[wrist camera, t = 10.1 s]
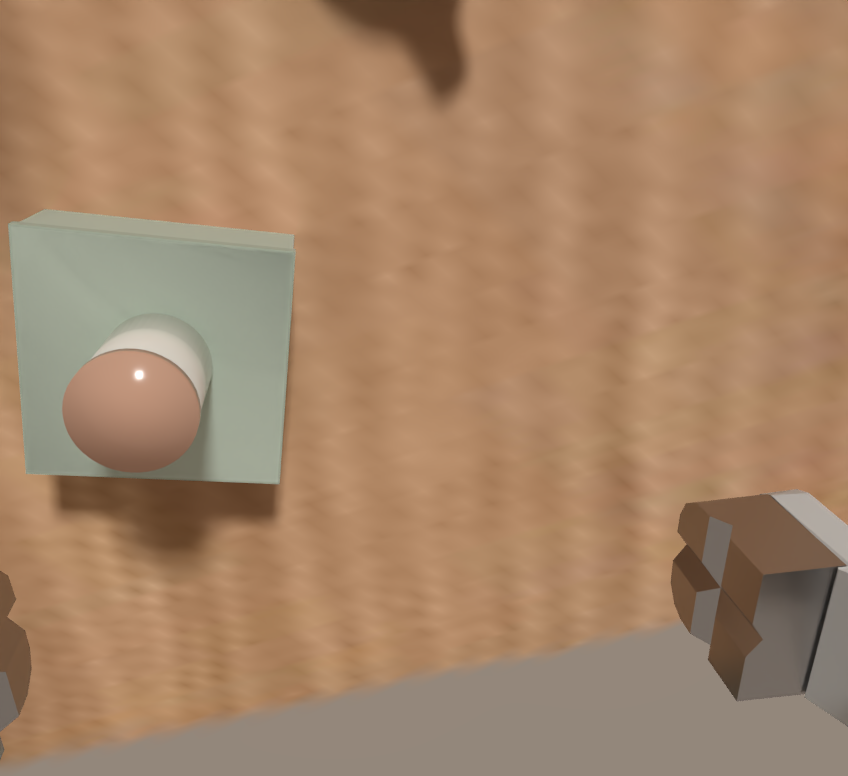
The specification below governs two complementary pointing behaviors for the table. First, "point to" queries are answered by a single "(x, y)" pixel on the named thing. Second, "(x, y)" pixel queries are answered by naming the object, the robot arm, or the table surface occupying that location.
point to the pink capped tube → (140, 394)
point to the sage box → (161, 294)
